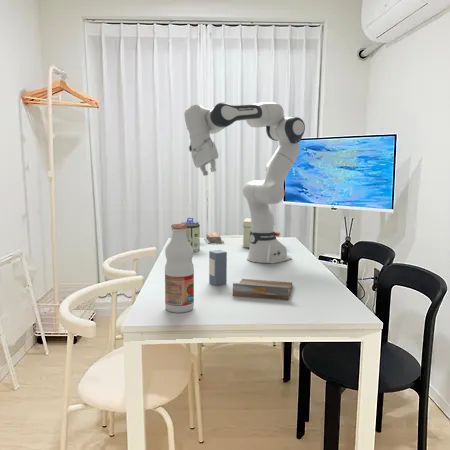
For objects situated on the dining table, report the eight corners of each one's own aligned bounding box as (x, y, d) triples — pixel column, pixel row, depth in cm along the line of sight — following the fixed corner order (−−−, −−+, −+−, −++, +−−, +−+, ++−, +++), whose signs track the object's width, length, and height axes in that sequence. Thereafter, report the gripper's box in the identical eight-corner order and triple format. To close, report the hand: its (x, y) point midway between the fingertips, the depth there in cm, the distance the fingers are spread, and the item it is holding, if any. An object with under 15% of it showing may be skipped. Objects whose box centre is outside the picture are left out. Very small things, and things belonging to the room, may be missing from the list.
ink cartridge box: (199, 241, 260) (199, 218, 258) (196, 243, 255) (196, 219, 253) (183, 241, 262) (183, 217, 260) (180, 242, 257) (180, 218, 255)
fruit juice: (164, 304, 147) (163, 223, 143) (191, 303, 149) (191, 222, 145) (166, 314, 138) (165, 227, 134) (195, 312, 140) (195, 226, 136)
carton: (219, 281, 177) (220, 249, 175) (226, 284, 172) (226, 252, 171) (208, 282, 174) (208, 251, 172) (214, 286, 170) (215, 253, 168)
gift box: (276, 248, 242) (276, 218, 240) (242, 248, 242) (243, 217, 240) (273, 243, 259) (273, 214, 257) (242, 242, 259) (242, 214, 257)
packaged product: (224, 236, 255) (207, 236, 254) (224, 244, 256) (207, 244, 254) (219, 231, 273) (204, 231, 271) (219, 238, 274) (204, 239, 272)
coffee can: (185, 247, 243) (185, 222, 241) (202, 249, 240) (202, 223, 238) (177, 251, 233) (177, 225, 231) (195, 252, 230) (195, 226, 228)
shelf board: (242, 282, 175) (242, 271, 174) (292, 286, 171) (292, 274, 170) (232, 295, 157) (232, 283, 157) (287, 300, 153) (288, 288, 152)
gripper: (216, 135, 180) (225, 167, 181) (200, 146, 199) (208, 176, 199) (203, 137, 178) (212, 170, 178) (187, 149, 196) (195, 179, 197)
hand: (209, 173), depth 189 cm, fingers open, 8 cm apart
